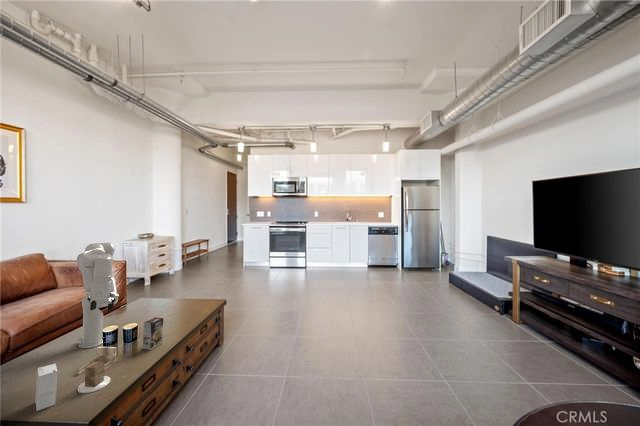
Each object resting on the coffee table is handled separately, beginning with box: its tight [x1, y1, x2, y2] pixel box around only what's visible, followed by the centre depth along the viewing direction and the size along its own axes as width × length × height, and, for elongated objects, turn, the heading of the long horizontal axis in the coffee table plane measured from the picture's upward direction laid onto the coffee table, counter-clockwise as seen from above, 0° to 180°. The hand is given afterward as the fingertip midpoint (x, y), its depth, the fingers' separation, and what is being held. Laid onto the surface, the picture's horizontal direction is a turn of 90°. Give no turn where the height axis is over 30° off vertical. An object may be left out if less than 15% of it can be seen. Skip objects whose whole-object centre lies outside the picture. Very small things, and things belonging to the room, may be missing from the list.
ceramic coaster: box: [77, 375, 111, 394], centre depth 128 cm, size 12×12×1 cm
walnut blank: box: [84, 362, 106, 387], centre depth 128 cm, size 5×5×9 cm
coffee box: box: [142, 316, 164, 351], centre depth 166 cm, size 9×6×16 cm
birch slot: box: [77, 346, 118, 375], centre depth 142 cm, size 10×12×8 cm
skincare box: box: [34, 363, 59, 412], centre depth 115 cm, size 8×6×15 cm
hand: (101, 309), depth 148 cm, fingers open, 9 cm apart
